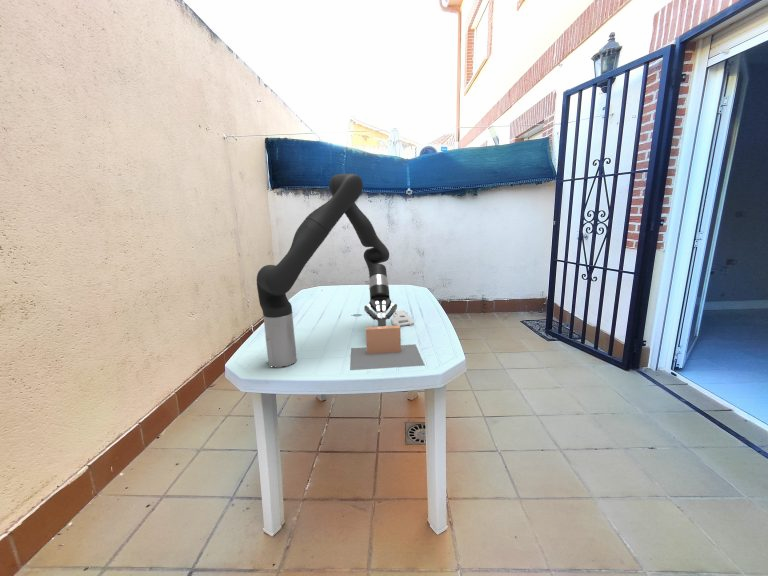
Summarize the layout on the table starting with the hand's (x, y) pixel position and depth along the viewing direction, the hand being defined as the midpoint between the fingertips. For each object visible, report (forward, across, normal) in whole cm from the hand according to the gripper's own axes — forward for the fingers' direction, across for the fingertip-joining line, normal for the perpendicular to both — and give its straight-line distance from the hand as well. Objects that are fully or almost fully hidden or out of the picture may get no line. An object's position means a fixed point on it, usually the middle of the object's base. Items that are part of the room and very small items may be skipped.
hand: (382, 328), depth 124 cm
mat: (+11, 0, 0) cm, 11 cm away
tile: (+8, 0, +2) cm, 8 cm away
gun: (-16, +10, +27) cm, 33 cm away
